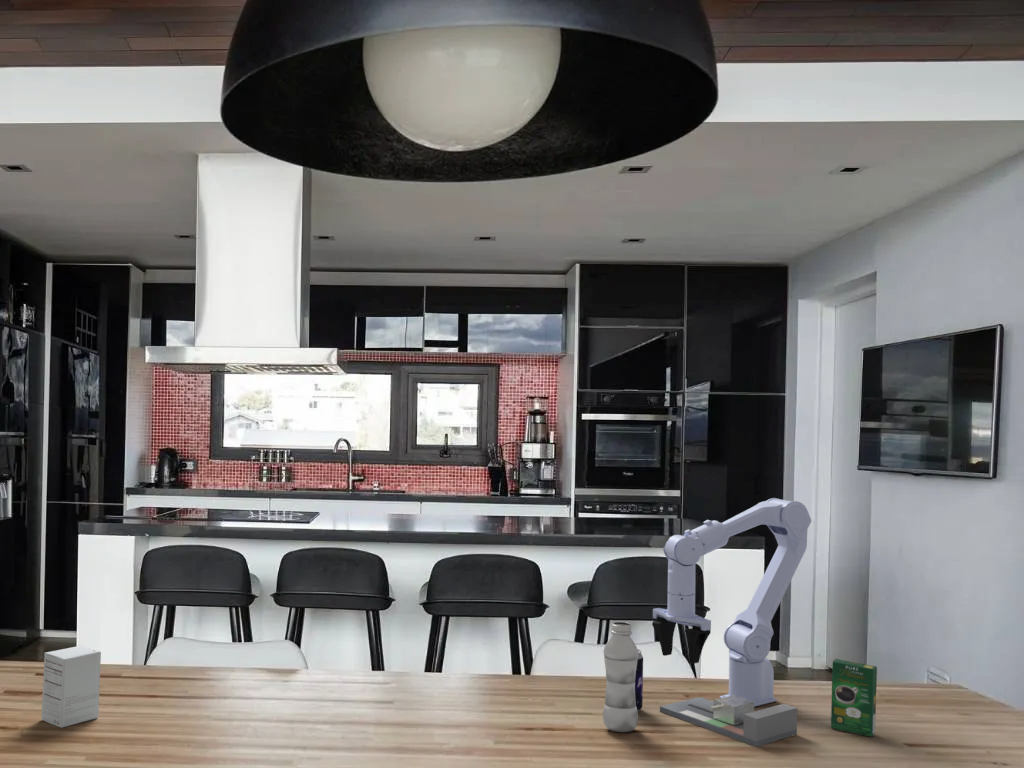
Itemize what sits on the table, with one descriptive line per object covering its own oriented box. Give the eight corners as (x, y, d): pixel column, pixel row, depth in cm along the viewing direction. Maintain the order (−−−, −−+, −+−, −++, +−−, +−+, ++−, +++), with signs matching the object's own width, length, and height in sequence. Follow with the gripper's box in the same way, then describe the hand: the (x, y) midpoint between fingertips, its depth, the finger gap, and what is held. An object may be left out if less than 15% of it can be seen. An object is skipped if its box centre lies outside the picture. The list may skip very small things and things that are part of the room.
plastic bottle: (633, 738, 163) (635, 628, 164) (598, 733, 165) (600, 625, 166) (641, 727, 169) (642, 622, 170) (606, 722, 171) (608, 618, 172)
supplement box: (78, 710, 171) (81, 644, 172) (99, 718, 167) (102, 650, 167) (39, 720, 165) (43, 651, 166) (60, 728, 161) (63, 658, 161)
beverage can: (641, 715, 176) (642, 655, 177) (613, 713, 177) (614, 652, 178) (643, 707, 182) (644, 648, 182) (615, 705, 183) (616, 646, 183)
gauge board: (699, 701, 186) (699, 677, 187) (796, 734, 167) (796, 707, 167) (659, 711, 179) (660, 686, 179) (756, 746, 160) (756, 718, 160)
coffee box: (877, 734, 168) (877, 664, 169) (874, 738, 166) (874, 667, 167) (834, 725, 173) (834, 657, 174) (830, 729, 171) (830, 660, 172)
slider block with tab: (733, 712, 175) (733, 695, 176) (754, 719, 171) (754, 701, 172) (701, 721, 170) (701, 702, 170) (721, 728, 166) (722, 709, 166)
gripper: (643, 589, 189) (642, 653, 188) (694, 600, 177) (693, 669, 176) (666, 586, 193) (665, 649, 192) (718, 597, 181) (717, 664, 181)
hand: (680, 658), depth 185 cm, fingers open, 7 cm apart
